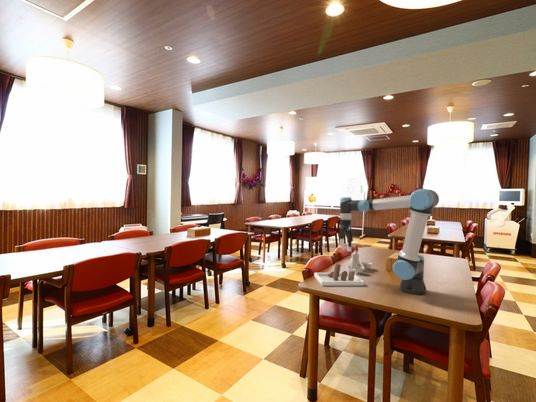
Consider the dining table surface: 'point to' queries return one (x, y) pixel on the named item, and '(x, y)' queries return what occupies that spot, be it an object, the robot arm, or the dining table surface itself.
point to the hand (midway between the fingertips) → (345, 249)
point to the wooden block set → (343, 275)
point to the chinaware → (358, 264)
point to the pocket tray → (329, 280)
